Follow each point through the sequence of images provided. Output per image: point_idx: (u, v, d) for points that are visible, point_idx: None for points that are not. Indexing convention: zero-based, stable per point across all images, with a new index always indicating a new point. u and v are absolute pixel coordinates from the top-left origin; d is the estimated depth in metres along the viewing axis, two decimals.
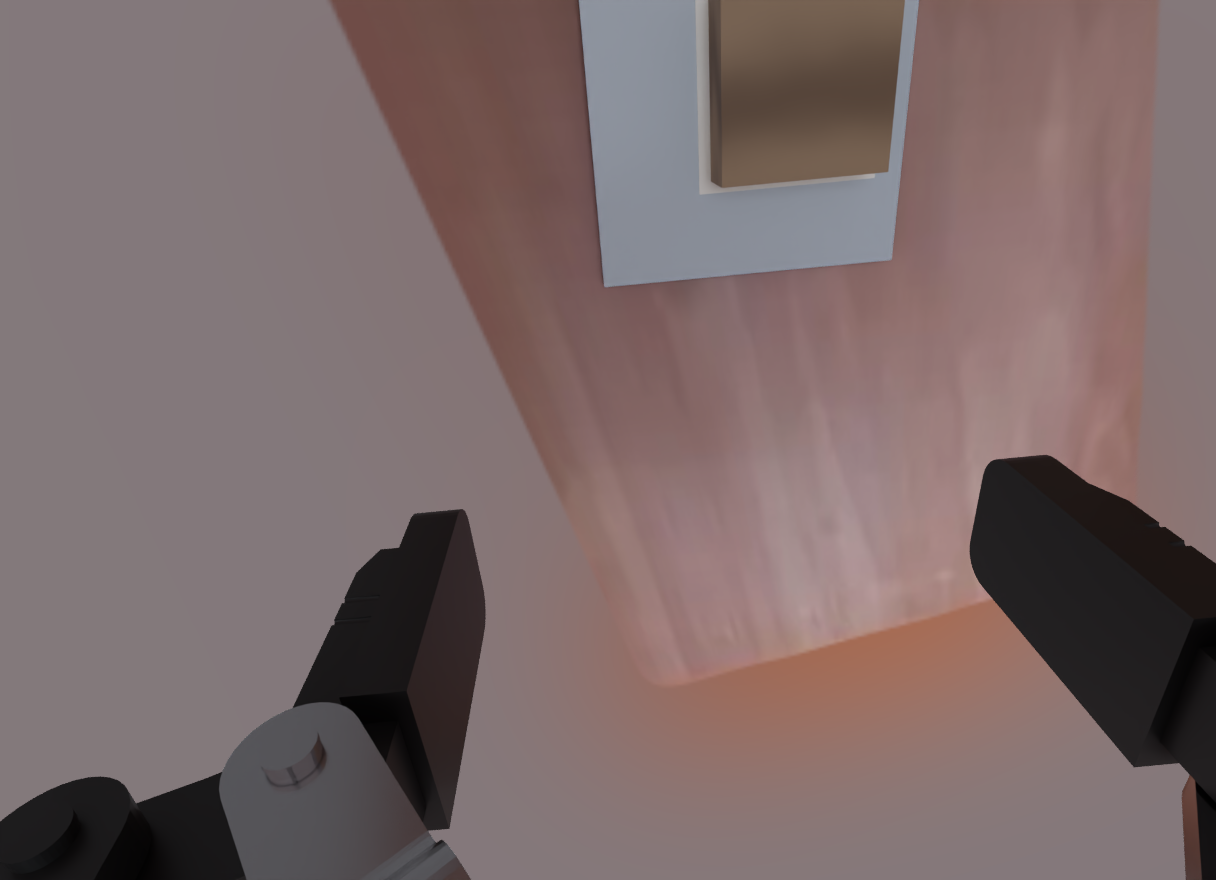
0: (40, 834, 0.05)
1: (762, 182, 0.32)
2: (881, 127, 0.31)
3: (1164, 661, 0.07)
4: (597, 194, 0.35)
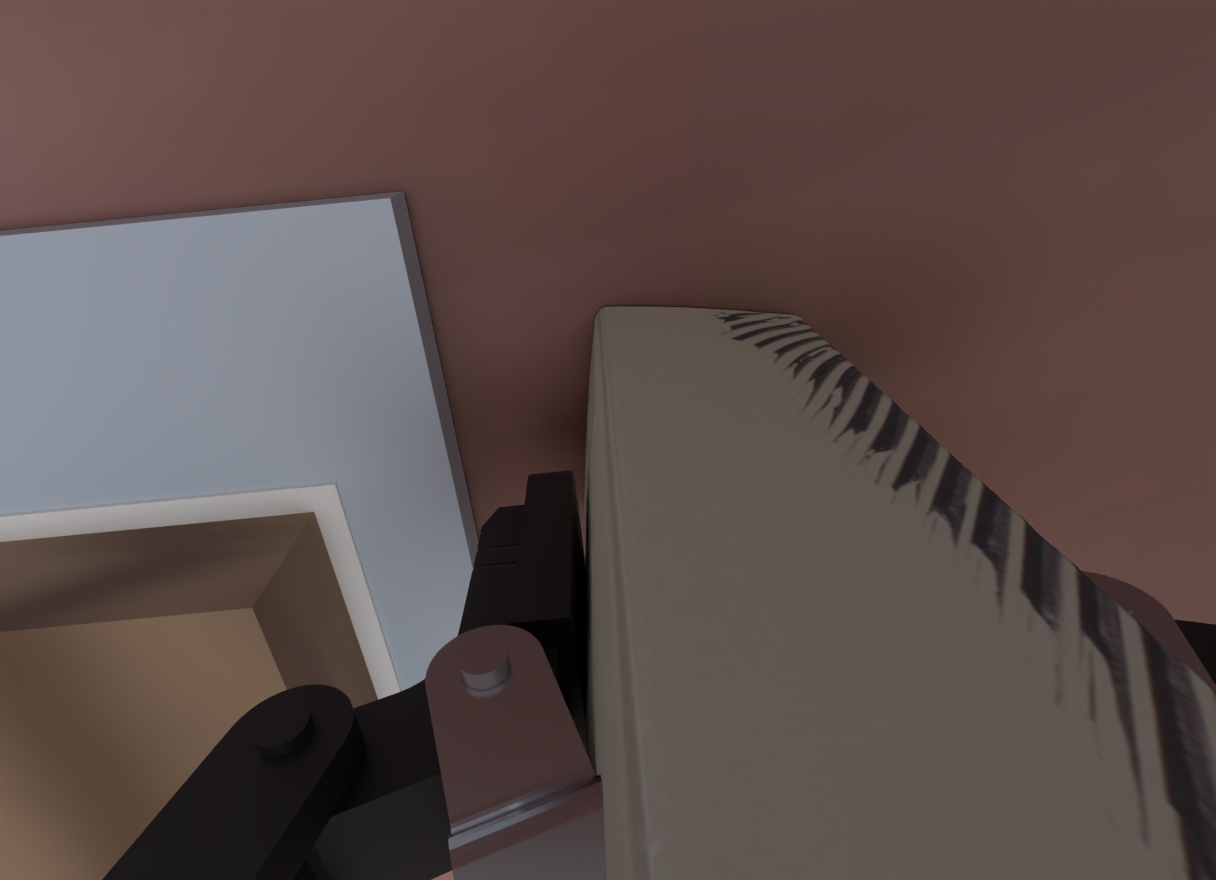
0: (283, 726, 0.06)
1: None
2: None
3: None
4: None
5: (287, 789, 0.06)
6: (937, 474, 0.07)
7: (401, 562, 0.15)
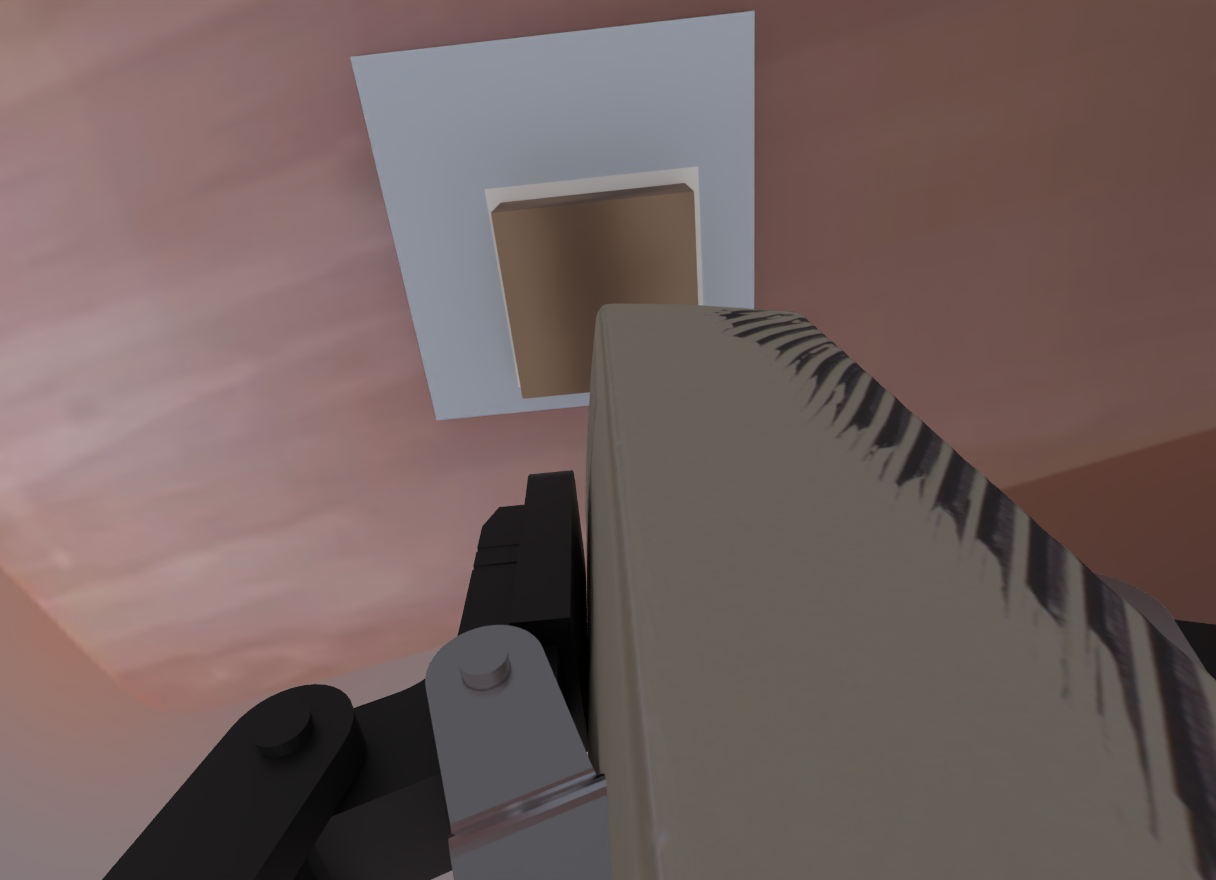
0: (283, 727, 0.06)
1: (501, 262, 0.27)
2: (565, 383, 0.30)
3: None
4: (472, 45, 0.26)
5: (287, 788, 0.06)
6: (941, 470, 0.07)
7: (719, 217, 0.29)
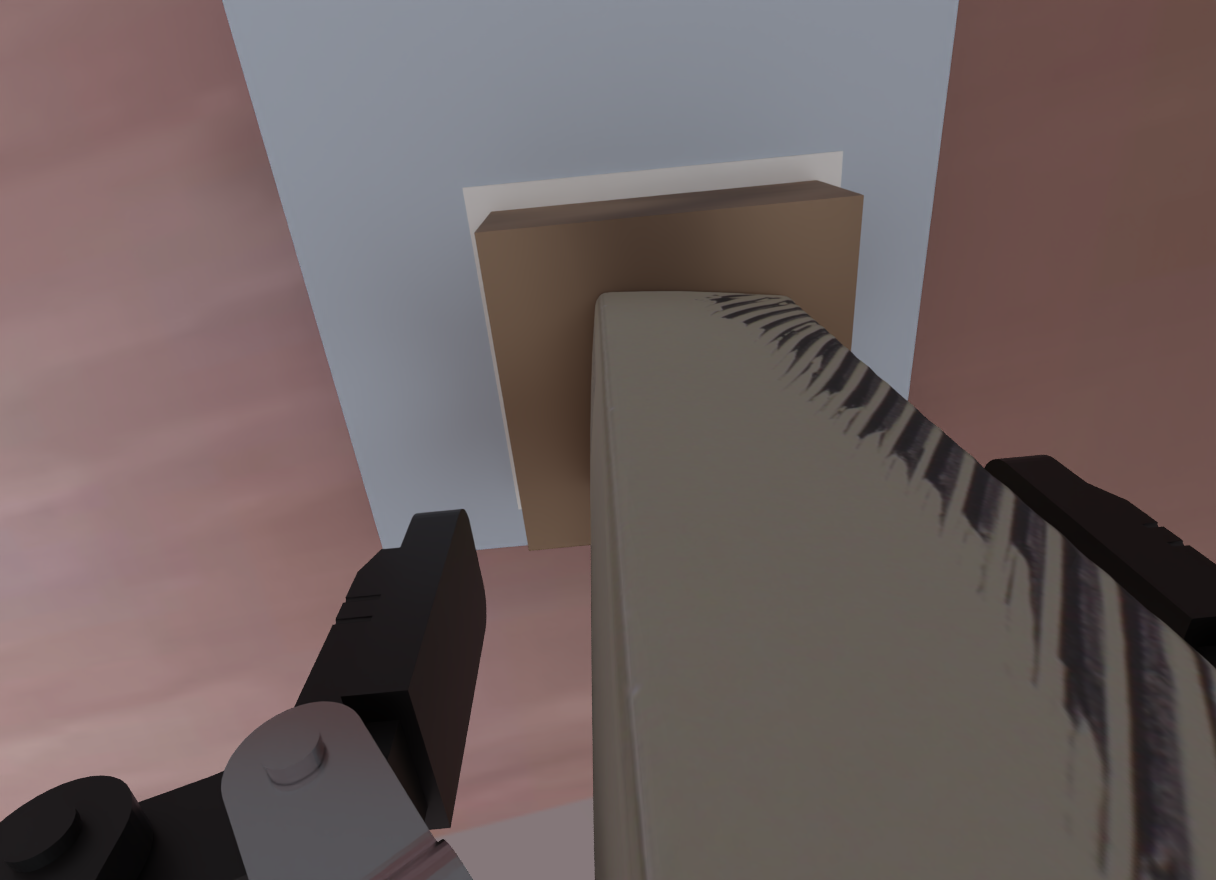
0: (43, 834, 0.05)
1: (493, 324, 0.15)
2: None
3: None
4: None
5: None
6: (901, 425, 0.08)
7: (869, 239, 0.17)
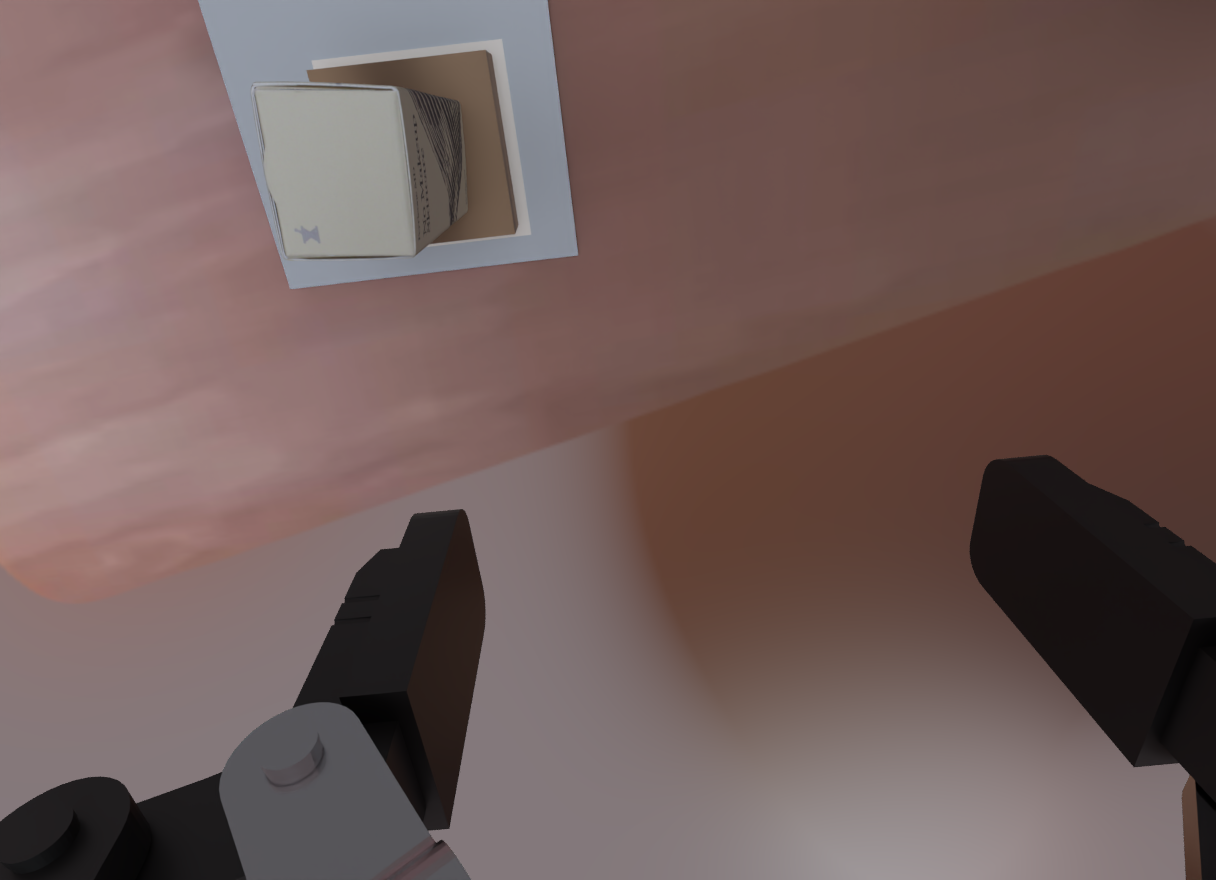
0: (41, 834, 0.05)
1: None
2: None
3: (1164, 661, 0.07)
4: None
5: None
6: None
7: (526, 87, 0.33)
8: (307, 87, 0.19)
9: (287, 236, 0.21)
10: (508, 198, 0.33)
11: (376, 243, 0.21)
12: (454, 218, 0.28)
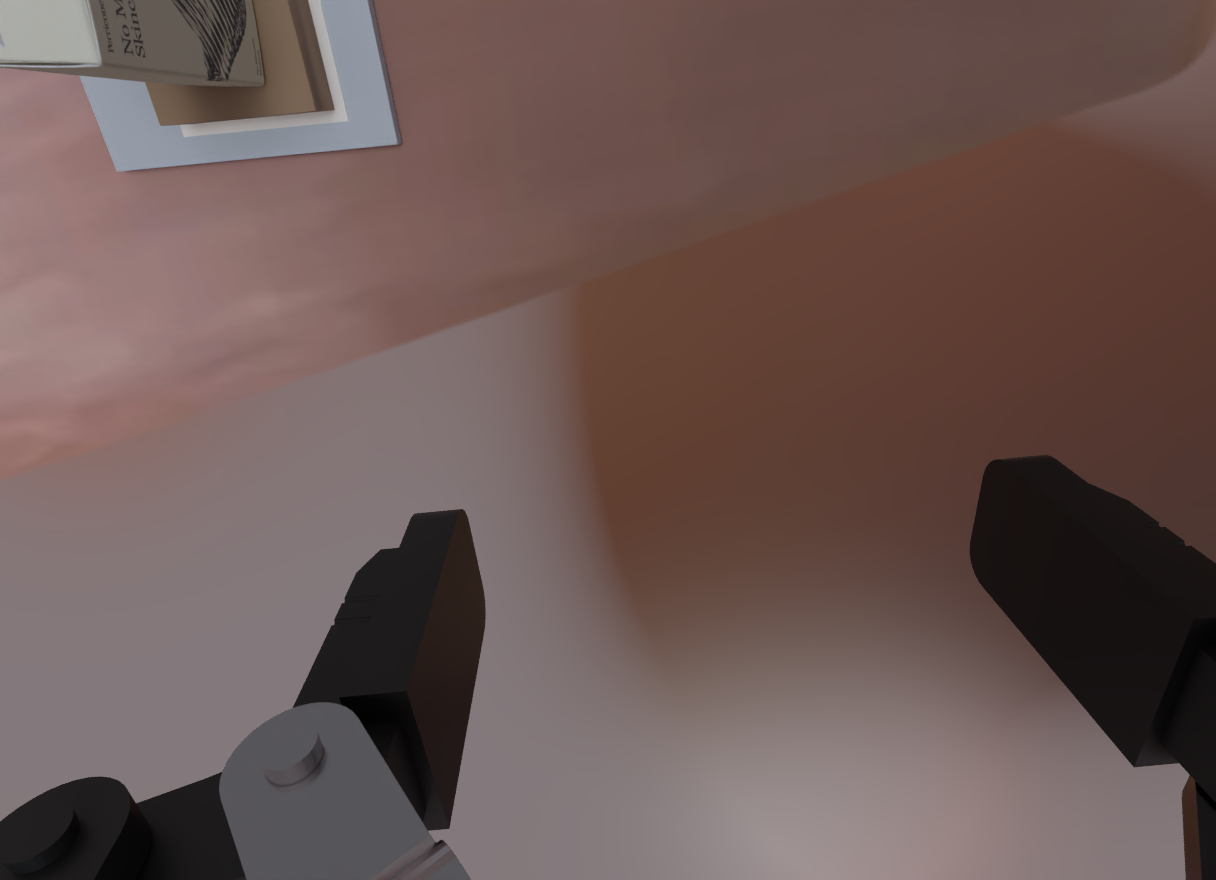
0: (40, 834, 0.05)
1: None
2: (195, 110, 0.34)
3: (1164, 661, 0.07)
4: None
5: None
6: None
7: None
8: None
9: None
10: (305, 73, 0.33)
11: (59, 48, 0.22)
12: (221, 74, 0.29)
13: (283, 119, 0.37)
